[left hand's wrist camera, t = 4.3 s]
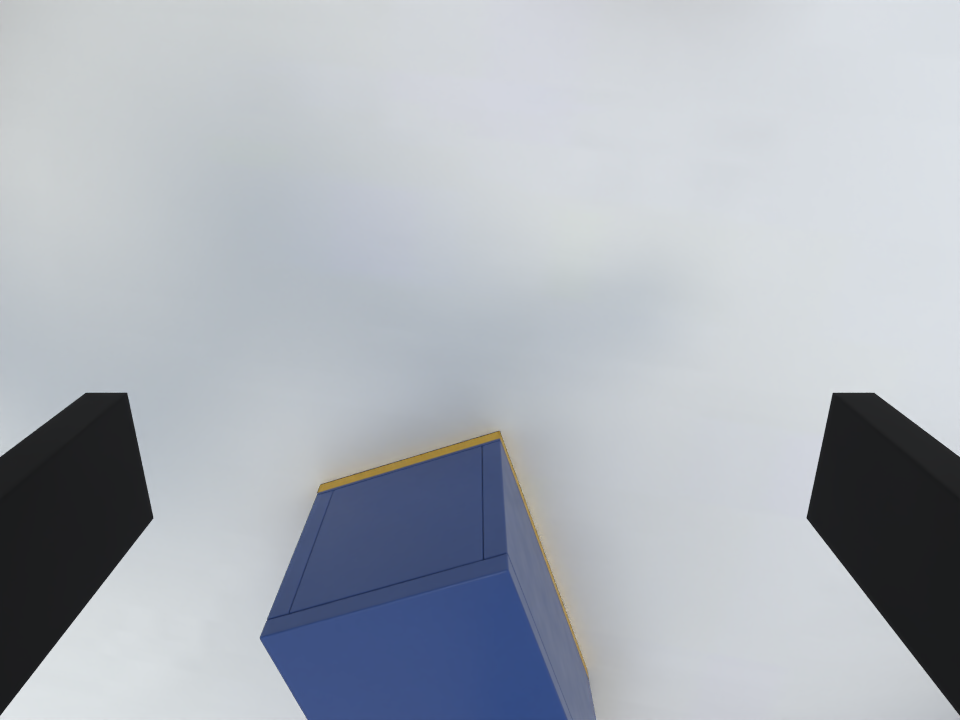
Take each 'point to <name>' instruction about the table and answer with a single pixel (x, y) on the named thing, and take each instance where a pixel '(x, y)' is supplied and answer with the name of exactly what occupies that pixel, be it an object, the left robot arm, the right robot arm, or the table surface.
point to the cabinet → (426, 599)
